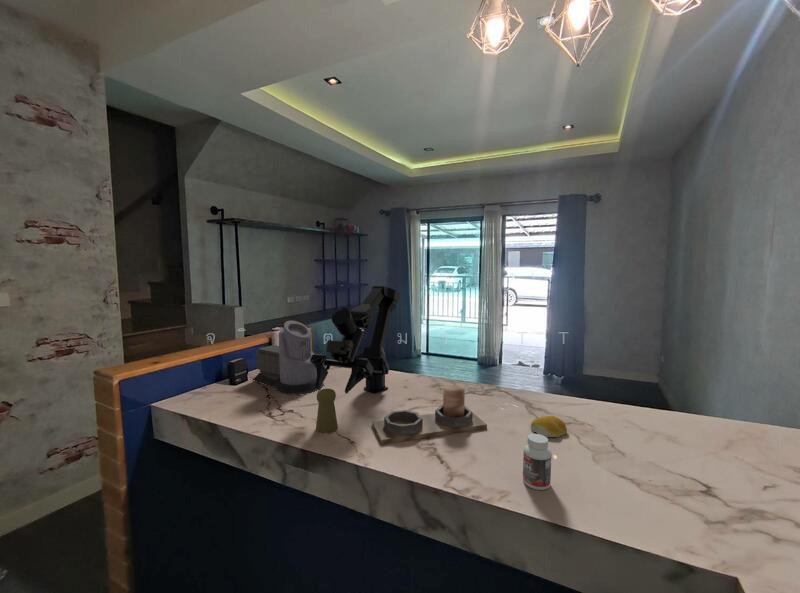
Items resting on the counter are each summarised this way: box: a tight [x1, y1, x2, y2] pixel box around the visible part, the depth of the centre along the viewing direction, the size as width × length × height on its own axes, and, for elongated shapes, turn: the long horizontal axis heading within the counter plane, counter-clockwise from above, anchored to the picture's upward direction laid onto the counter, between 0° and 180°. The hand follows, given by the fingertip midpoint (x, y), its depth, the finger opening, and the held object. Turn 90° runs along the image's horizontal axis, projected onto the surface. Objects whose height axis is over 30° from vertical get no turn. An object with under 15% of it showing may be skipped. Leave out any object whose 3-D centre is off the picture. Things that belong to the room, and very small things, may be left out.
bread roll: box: [530, 415, 568, 438], centre depth 98 cm, size 8×9×4 cm
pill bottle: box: [522, 433, 552, 491], centre depth 74 cm, size 5×5×10 cm
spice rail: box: [371, 384, 488, 445], centre depth 100 cm, size 30×11×10 cm, turn 107°
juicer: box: [252, 320, 325, 396], centre depth 136 cm, size 30×16×24 cm, turn 57°
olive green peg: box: [315, 388, 339, 435], centre depth 99 cm, size 6×6×11 cm
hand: (331, 390), depth 101 cm, fingers open, 9 cm apart
